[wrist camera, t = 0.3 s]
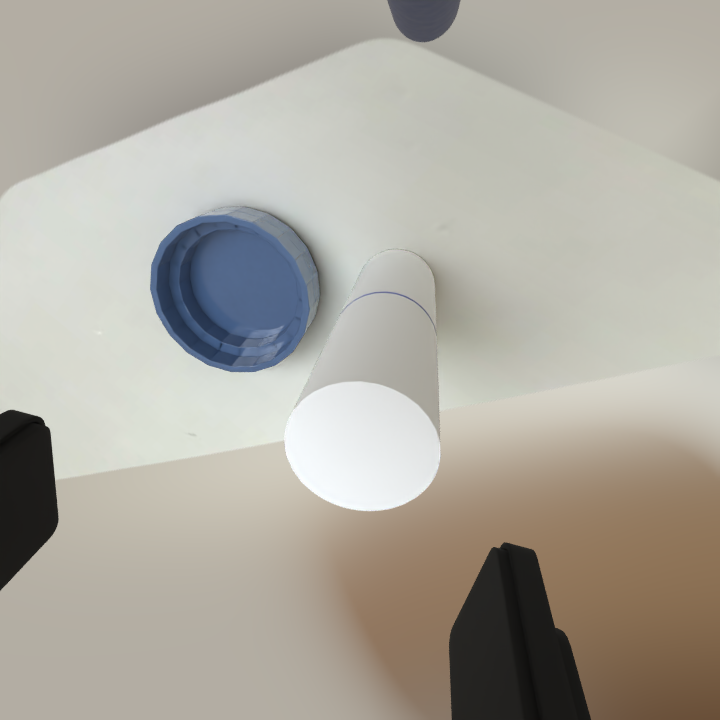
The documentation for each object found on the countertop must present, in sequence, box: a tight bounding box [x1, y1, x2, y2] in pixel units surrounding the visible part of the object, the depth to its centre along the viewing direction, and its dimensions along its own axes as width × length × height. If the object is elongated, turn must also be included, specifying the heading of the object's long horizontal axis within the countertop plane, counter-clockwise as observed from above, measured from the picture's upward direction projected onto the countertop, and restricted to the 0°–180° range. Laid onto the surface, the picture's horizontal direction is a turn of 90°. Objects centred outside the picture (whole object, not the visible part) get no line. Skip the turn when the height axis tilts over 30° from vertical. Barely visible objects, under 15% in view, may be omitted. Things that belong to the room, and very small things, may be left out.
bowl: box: [150, 207, 320, 372], centre depth 43 cm, size 14×14×5 cm
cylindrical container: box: [284, 249, 441, 511], centre depth 33 cm, size 7×7×25 cm
